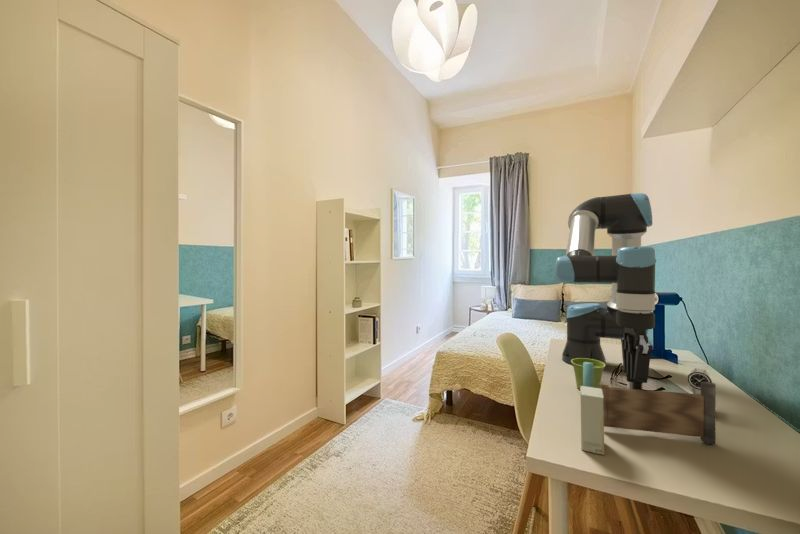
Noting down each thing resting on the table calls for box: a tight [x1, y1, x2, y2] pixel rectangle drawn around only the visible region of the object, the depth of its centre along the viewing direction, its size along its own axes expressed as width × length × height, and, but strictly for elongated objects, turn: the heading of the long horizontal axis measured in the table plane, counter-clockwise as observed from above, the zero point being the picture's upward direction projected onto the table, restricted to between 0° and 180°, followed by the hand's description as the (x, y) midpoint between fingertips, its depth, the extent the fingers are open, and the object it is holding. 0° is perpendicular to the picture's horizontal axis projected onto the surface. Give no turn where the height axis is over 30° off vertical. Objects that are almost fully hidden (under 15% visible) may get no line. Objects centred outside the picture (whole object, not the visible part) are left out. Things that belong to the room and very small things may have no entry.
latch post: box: [583, 362, 593, 387], centre depth 87 cm, size 2×2×13 cm
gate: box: [599, 381, 717, 446], centre depth 74 cm, size 22×2×13 cm, turn 75°
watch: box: [686, 367, 715, 395], centre depth 87 cm, size 6×8×11 cm
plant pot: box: [571, 358, 606, 390], centre depth 102 cm, size 9×9×9 cm
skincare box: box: [579, 386, 605, 456], centre depth 71 cm, size 6×4×12 cm
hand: (634, 407), depth 78 cm, fingers closed
